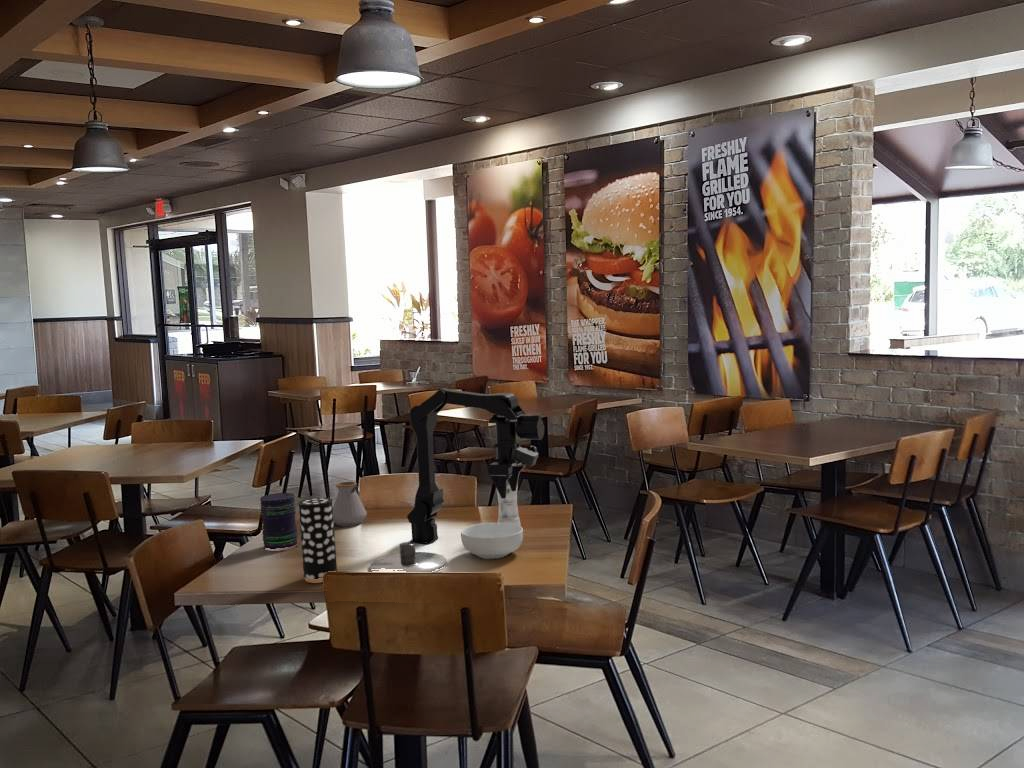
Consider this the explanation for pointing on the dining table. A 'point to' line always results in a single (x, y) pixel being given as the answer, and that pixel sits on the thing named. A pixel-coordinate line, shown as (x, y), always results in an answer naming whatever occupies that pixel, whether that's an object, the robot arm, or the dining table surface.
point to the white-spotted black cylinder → (317, 537)
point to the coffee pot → (348, 505)
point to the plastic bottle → (508, 507)
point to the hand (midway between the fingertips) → (508, 494)
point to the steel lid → (410, 560)
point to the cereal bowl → (492, 539)
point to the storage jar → (279, 520)
